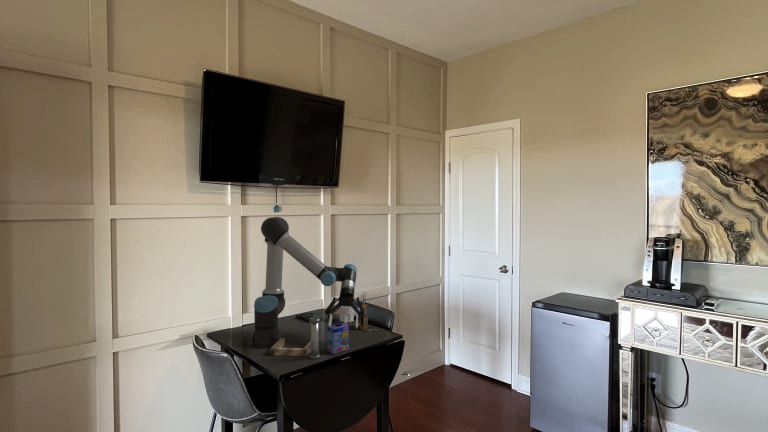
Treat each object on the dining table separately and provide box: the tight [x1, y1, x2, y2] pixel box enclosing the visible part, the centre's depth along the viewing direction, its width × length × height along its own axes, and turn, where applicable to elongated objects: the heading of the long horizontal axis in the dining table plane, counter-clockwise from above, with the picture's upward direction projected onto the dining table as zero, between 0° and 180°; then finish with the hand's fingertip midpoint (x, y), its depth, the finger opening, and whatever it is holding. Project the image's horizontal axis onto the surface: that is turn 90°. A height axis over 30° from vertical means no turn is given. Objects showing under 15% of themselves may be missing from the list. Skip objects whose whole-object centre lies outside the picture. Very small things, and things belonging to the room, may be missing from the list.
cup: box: [338, 306, 355, 324], centre depth 253 cm, size 10×10×10 cm
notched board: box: [269, 337, 311, 357], centre depth 201 cm, size 18×16×3 cm
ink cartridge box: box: [326, 321, 350, 355], centre depth 200 cm, size 10×6×14 cm, turn 134°
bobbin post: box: [308, 317, 321, 360], centre depth 191 cm, size 5×5×18 cm
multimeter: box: [359, 292, 378, 333], centre depth 237 cm, size 15×10×20 cm
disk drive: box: [295, 311, 324, 323], centre depth 259 cm, size 10×3×15 cm
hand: (343, 326), depth 205 cm, fingers open, 13 cm apart
